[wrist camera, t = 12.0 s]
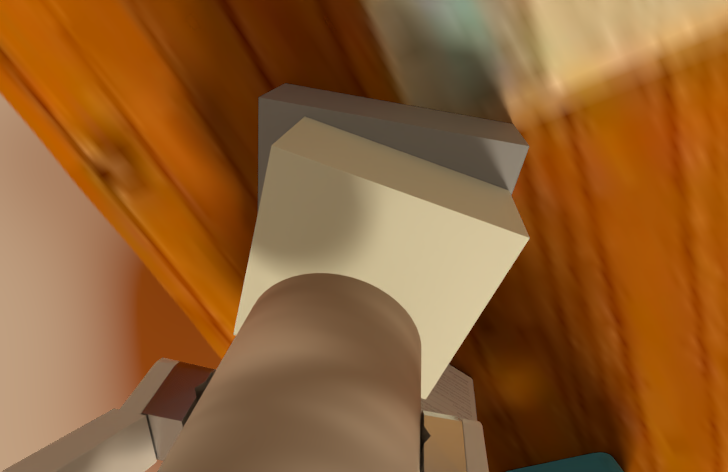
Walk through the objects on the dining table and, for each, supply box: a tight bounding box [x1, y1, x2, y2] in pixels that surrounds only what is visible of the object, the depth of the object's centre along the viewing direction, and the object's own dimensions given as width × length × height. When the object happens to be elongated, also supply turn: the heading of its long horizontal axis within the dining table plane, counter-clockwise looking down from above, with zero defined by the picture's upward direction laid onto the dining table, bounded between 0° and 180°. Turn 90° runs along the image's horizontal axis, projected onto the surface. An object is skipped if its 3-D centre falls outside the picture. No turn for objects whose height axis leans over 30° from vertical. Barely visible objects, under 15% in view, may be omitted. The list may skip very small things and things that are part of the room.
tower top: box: [234, 117, 530, 400], centre depth 17 cm, size 9×9×4 cm
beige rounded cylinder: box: [158, 273, 421, 472], centre depth 10 cm, size 6×6×6 cm
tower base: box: [258, 83, 529, 210], centre depth 20 cm, size 11×11×4 cm
